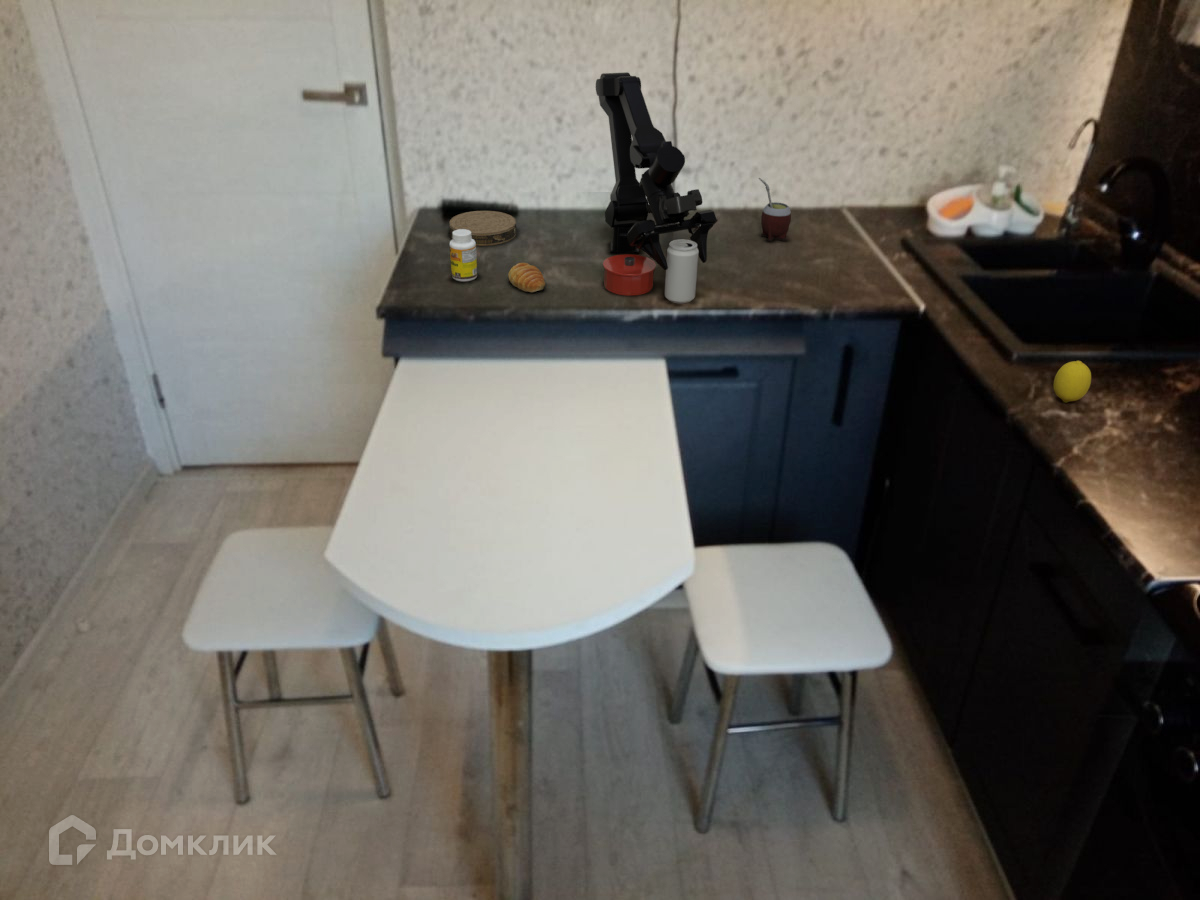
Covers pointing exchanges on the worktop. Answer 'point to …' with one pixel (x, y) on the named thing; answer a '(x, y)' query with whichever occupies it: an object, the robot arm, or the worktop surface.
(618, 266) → the pot lid
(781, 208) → the mate gourd
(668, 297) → the beverage can
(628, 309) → the worktop surface
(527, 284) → the pastry
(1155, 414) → the worktop surface
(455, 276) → the supplement bottle
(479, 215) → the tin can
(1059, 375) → the lemon
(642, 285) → the pot
